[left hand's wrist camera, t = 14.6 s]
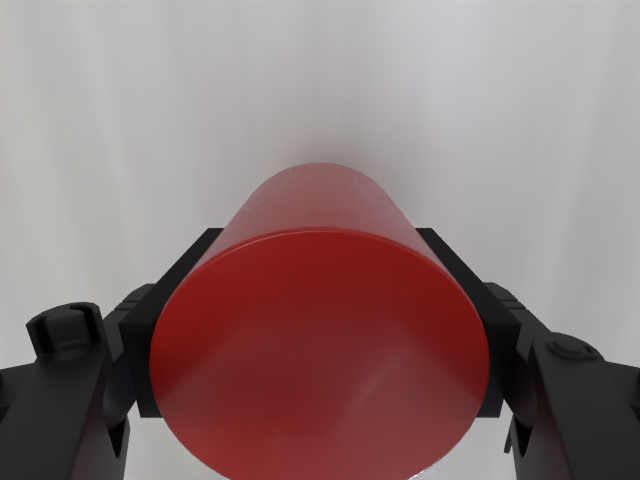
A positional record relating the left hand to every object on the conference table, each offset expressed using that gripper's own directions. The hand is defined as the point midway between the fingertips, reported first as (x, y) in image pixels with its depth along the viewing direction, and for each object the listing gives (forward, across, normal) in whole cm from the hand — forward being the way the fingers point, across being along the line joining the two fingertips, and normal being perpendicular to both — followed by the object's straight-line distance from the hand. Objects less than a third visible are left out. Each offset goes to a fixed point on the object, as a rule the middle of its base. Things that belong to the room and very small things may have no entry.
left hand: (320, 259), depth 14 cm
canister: (+1, 0, 0) cm, 1 cm away
